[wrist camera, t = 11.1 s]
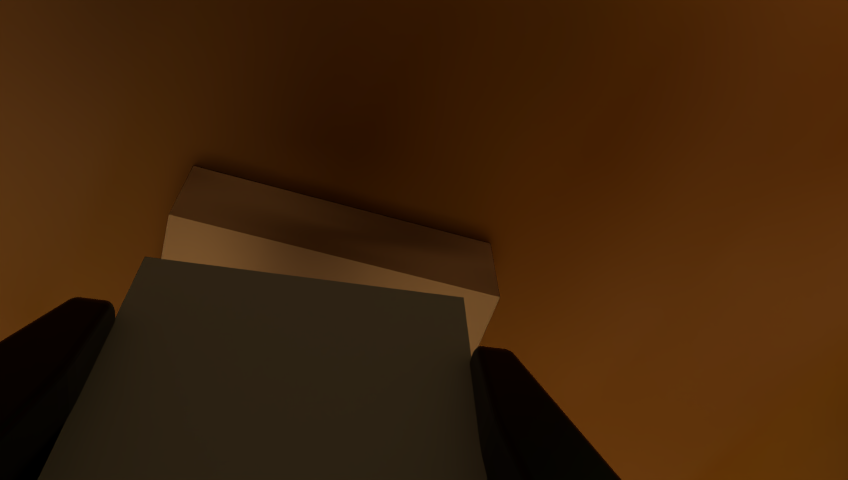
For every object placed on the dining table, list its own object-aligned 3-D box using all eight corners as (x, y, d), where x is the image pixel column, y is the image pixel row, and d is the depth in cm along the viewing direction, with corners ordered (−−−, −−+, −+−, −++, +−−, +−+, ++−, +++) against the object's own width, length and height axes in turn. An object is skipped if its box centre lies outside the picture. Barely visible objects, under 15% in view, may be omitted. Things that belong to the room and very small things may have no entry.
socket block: (490, 243, 22) (499, 297, 20) (404, 448, 26) (404, 511, 24) (193, 166, 20) (169, 214, 18) (150, 394, 24) (126, 457, 22)
